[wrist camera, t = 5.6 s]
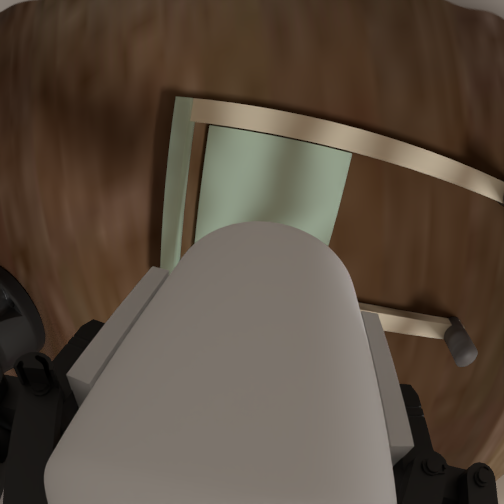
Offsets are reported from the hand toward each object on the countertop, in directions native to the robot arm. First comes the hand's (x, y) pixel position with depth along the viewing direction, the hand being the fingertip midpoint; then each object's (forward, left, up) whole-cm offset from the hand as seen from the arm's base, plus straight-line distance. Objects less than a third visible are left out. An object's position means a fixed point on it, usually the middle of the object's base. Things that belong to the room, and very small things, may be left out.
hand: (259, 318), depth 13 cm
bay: (+6, 0, -14) cm, 15 cm away
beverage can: (0, 0, -1) cm, 1 cm away
